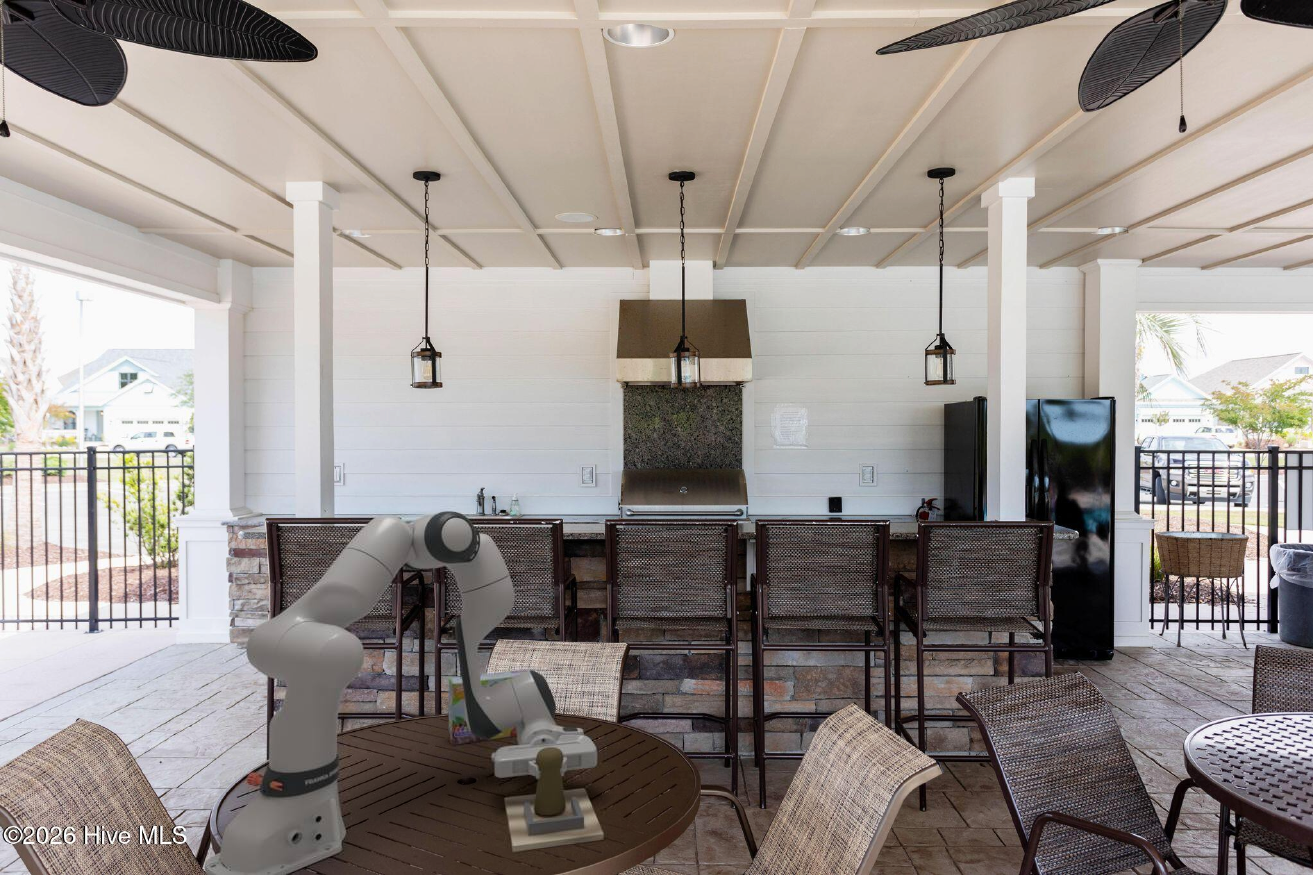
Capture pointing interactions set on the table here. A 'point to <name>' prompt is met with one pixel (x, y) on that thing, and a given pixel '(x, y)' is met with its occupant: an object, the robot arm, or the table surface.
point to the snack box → (457, 720)
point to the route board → (518, 822)
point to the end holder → (554, 821)
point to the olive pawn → (549, 782)
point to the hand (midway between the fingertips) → (550, 773)
